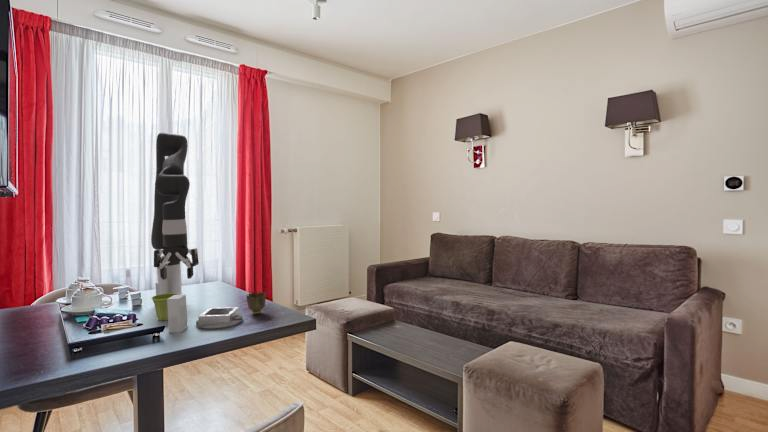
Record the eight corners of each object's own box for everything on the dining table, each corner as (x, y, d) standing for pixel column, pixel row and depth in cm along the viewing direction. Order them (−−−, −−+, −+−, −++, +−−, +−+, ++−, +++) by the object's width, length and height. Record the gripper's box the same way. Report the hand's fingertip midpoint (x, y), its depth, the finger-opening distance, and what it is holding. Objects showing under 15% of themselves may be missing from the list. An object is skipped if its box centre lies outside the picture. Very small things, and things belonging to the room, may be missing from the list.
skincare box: (175, 327, 149) (173, 294, 148) (187, 327, 149) (186, 294, 148) (168, 333, 142) (166, 299, 142) (181, 332, 143) (179, 298, 142)
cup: (260, 317, 159) (260, 296, 159) (243, 316, 161) (242, 295, 160) (269, 311, 167) (269, 291, 166) (253, 310, 168) (252, 291, 168)
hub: (188, 330, 145) (188, 318, 145) (206, 316, 161) (205, 306, 161) (235, 329, 146) (234, 317, 145) (247, 315, 162) (247, 305, 161)
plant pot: (184, 317, 160) (182, 295, 160) (157, 323, 153) (156, 300, 153) (174, 313, 167) (173, 291, 166) (149, 318, 160) (147, 296, 159)
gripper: (200, 231, 148) (202, 275, 149) (158, 232, 147) (161, 277, 148) (191, 233, 140) (193, 280, 141) (148, 234, 140) (150, 281, 140)
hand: (177, 278), depth 145 cm, fingers open, 8 cm apart
